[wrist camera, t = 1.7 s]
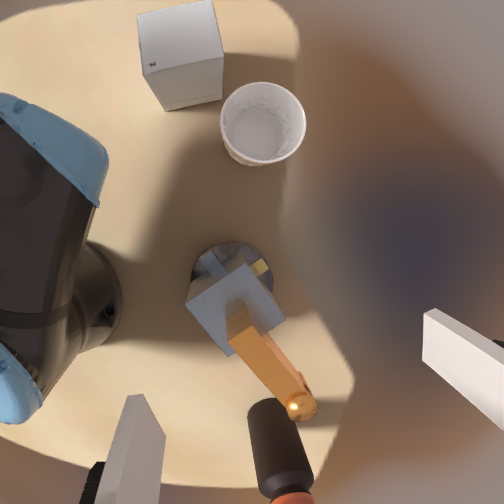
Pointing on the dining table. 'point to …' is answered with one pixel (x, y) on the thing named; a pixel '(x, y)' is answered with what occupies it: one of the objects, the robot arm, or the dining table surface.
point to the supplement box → (182, 54)
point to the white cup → (262, 124)
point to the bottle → (279, 454)
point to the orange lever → (248, 327)
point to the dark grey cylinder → (251, 254)
